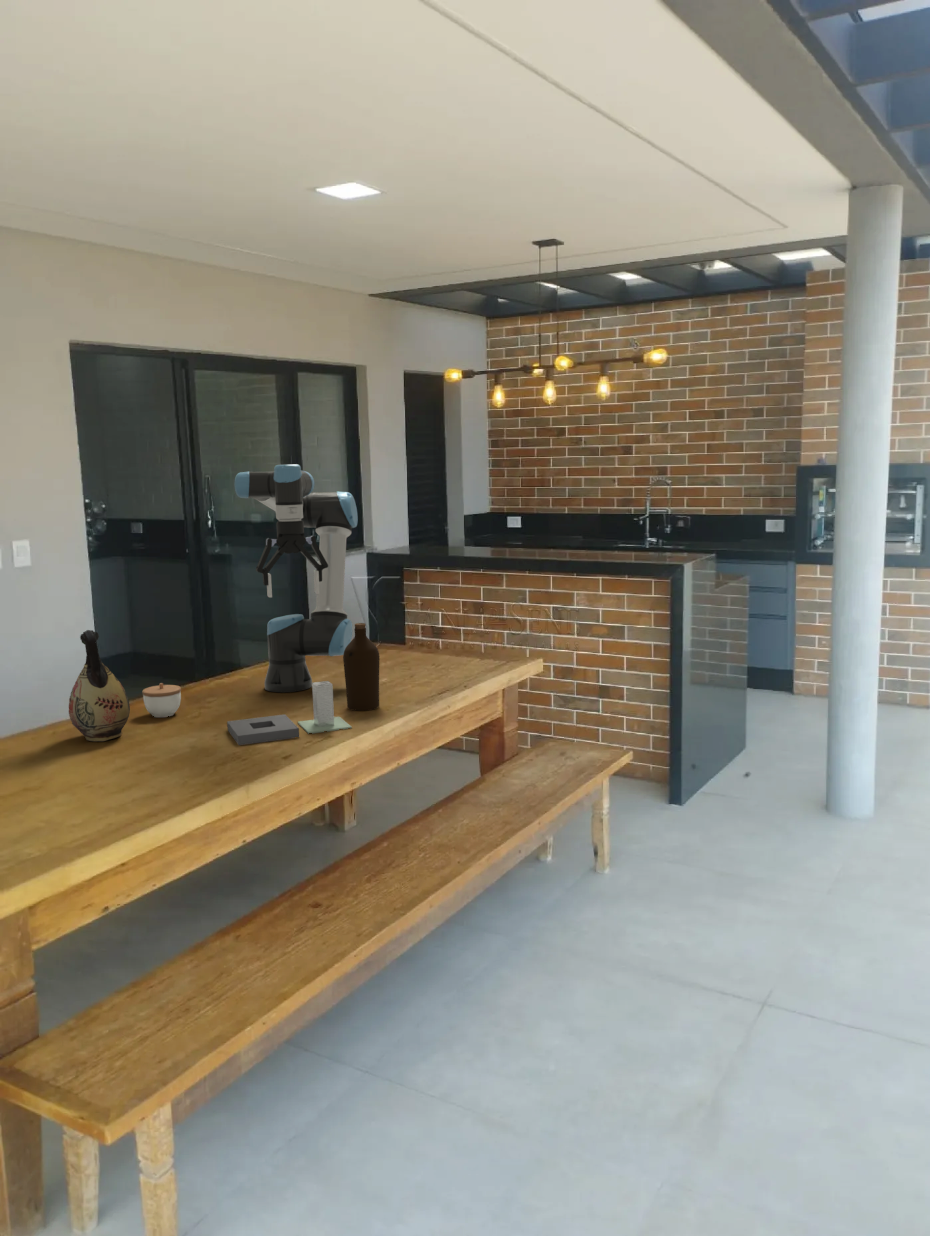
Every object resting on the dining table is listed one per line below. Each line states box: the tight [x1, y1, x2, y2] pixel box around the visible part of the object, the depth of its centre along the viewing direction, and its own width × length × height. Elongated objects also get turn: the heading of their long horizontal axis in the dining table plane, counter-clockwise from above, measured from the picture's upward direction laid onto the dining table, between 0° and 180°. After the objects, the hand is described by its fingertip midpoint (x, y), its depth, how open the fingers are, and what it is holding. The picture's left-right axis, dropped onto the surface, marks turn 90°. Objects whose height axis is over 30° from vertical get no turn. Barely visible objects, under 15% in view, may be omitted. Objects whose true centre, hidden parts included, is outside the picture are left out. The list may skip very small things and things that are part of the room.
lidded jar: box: [141, 682, 182, 718], centre depth 292 cm, size 11×11×9 cm
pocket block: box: [226, 714, 300, 746], centre depth 270 cm, size 16×16×2 cm
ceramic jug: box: [68, 629, 131, 742], centre depth 267 cm, size 17×15×30 cm
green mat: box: [297, 716, 353, 735], centre depth 276 cm, size 12×12×1 cm
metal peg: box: [311, 680, 335, 727], centre depth 275 cm, size 4×4×12 cm
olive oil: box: [342, 622, 381, 712], centre depth 294 cm, size 11×11×25 cm
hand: (293, 595), depth 284 cm, fingers open, 13 cm apart
